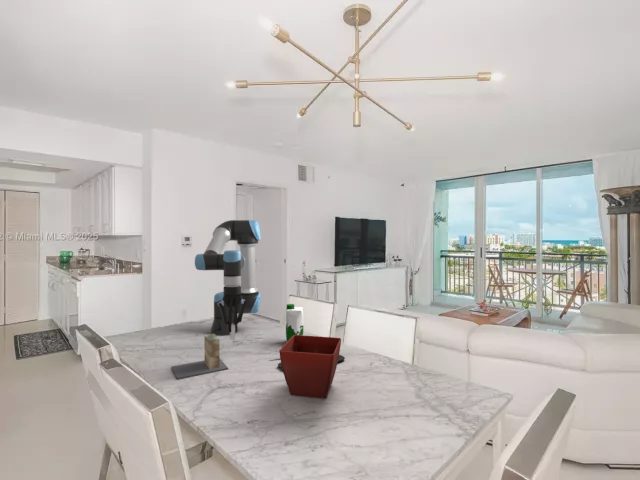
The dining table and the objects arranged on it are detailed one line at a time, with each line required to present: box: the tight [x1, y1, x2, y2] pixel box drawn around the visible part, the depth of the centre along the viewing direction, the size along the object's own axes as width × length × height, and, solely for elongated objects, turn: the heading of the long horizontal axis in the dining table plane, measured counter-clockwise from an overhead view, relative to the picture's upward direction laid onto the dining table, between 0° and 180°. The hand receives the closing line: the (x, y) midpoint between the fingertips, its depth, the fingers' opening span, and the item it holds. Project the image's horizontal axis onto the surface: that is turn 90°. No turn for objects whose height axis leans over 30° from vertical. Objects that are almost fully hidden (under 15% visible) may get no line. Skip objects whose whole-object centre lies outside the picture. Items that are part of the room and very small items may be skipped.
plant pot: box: [278, 334, 342, 400], centre depth 126 cm, size 19×19×17 cm
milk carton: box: [285, 303, 304, 343], centre depth 180 cm, size 9×9×20 cm
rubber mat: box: [170, 358, 229, 380], centre depth 146 cm, size 20×14×1 cm
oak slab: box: [203, 333, 221, 369], centre depth 148 cm, size 4×9×12 cm, turn 32°
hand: (232, 339), depth 153 cm, fingers closed
